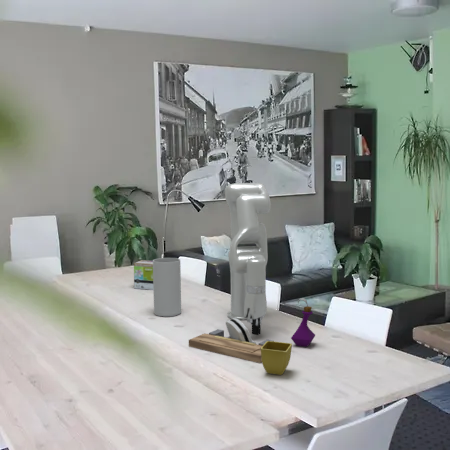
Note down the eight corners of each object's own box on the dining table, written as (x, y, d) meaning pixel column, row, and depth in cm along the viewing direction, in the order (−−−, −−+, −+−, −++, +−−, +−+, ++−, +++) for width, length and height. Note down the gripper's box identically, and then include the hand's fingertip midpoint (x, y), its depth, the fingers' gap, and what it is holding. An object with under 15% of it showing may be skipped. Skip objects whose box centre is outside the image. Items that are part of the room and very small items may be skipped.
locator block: (218, 336, 229) (217, 329, 229) (224, 337, 227) (224, 330, 227) (208, 340, 224) (208, 332, 224) (215, 341, 222) (214, 334, 222)
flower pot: (292, 369, 193) (292, 343, 192) (286, 378, 185) (286, 351, 184) (267, 366, 196) (267, 340, 195) (260, 375, 188) (260, 348, 187)
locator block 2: (267, 347, 216) (267, 339, 215) (273, 348, 214) (273, 340, 214) (258, 351, 211) (258, 343, 210) (265, 352, 209) (265, 344, 209)
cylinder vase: (149, 315, 261) (147, 261, 258) (162, 309, 272) (161, 257, 270) (173, 318, 256) (172, 263, 253) (185, 311, 268) (184, 258, 265)
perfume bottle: (315, 343, 220) (315, 297, 218) (309, 349, 213) (310, 301, 211) (296, 340, 223) (297, 295, 221) (290, 346, 216) (290, 299, 214)
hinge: (257, 347, 216) (249, 323, 213) (246, 352, 214) (238, 329, 212) (241, 334, 231) (233, 312, 229) (230, 339, 230) (222, 317, 228)
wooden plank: (204, 339, 225) (204, 332, 225) (274, 355, 207) (274, 347, 206) (188, 346, 217) (188, 339, 217) (260, 363, 199) (260, 355, 198)
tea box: (133, 289, 316) (133, 262, 314) (141, 285, 325) (140, 259, 323) (158, 290, 311) (158, 263, 310) (166, 286, 321) (165, 260, 319)
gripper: (258, 284, 234) (258, 328, 236) (237, 291, 222) (237, 337, 224) (274, 286, 230) (274, 331, 232) (253, 294, 218) (253, 340, 220)
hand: (256, 334), depth 228 cm, fingers closed
